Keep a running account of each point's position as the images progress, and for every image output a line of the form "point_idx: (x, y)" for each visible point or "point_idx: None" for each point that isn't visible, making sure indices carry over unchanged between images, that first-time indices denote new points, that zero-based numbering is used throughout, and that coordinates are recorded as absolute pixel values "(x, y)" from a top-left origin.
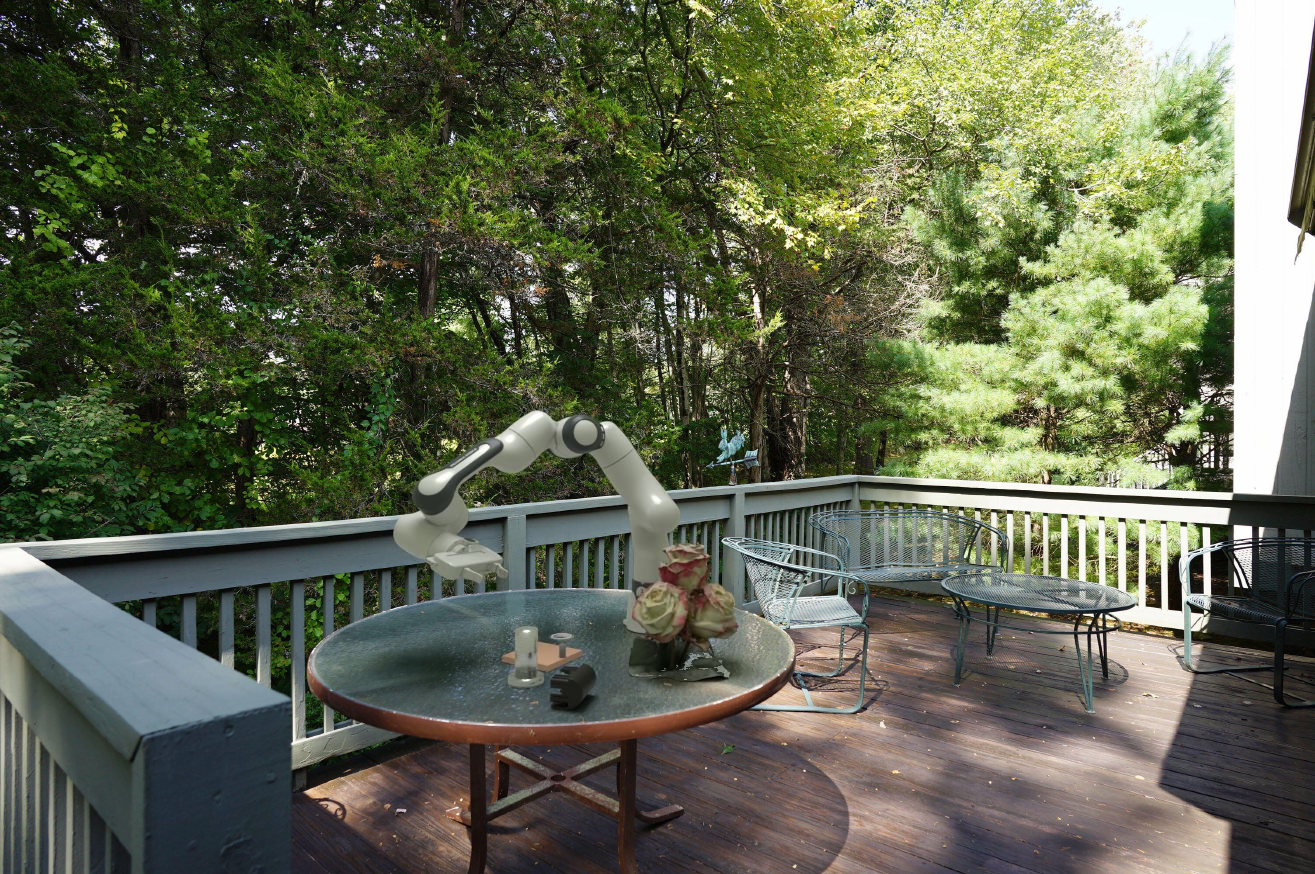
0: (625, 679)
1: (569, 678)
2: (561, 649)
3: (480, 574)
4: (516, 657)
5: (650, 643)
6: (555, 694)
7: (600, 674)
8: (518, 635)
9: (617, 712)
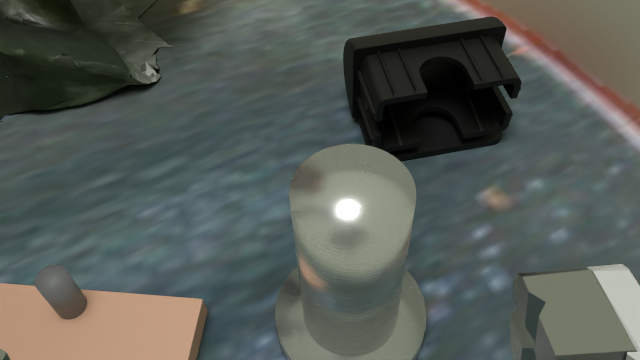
0: (191, 84)
1: (503, 24)
2: (73, 284)
3: (597, 300)
4: (401, 287)
5: (6, 25)
6: (505, 100)
7: (171, 152)
8: (413, 214)
9: (422, 21)
